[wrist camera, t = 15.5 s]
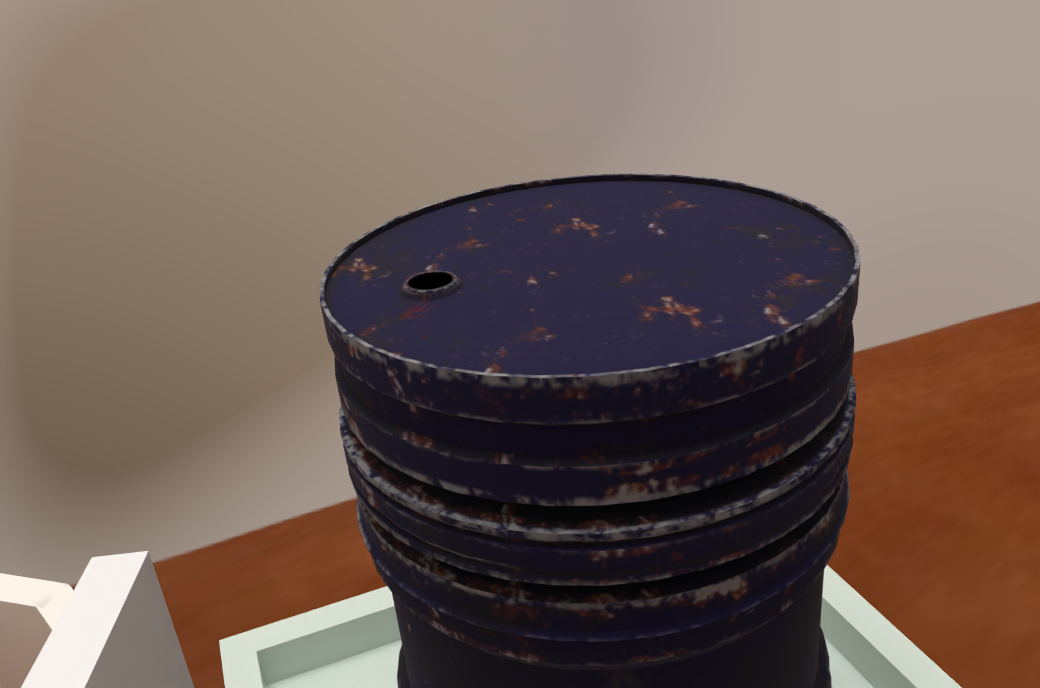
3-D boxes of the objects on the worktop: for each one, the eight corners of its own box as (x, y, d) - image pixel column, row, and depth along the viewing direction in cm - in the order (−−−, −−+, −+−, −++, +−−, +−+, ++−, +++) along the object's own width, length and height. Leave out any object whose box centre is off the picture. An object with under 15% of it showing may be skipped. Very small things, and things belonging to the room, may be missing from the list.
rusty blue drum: (708, 618, 29) (708, 148, 22) (911, 915, 20) (1009, 294, 14) (395, 709, 27) (292, 221, 20) (475, 1082, 18) (340, 446, 12)
